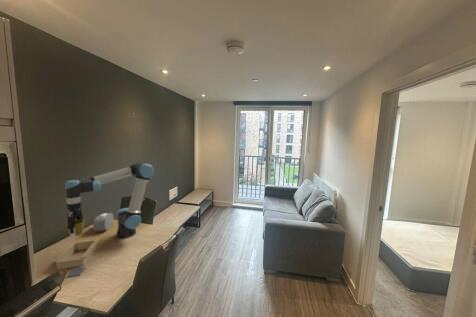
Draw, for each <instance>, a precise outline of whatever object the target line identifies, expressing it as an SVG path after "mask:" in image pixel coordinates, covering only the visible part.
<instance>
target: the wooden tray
mask: <svg viewBox="0 0 476 317" xmlns="http://www.w3.org/2000/svg"><path fill="white" fill-rule="evenodd" d="M99 242H100V239H97V238H94V239H93V238H92V239H87V240H77V241H76V242H72V243H70V244H69V245H68V246H67V247H66V248H65V249H63V251H62V252H61V253H60V254H59V255H57V257H55V258H54V259H53V261H52V262H53V263H54V262H55V263H56V269H57V270H63V269H70V268H77V267H83V266H84V265H85V264H86V263H87V262H88V260H90V257H91V256H92V255H93V254H94V252H95V250H96V249H97V248H98V243H99ZM83 250H86V251H85V252H84V253H83V254H82V255H81V256H75V257H71V256H72V255H74V253H75V252H76V251H83Z"/></svg>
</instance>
